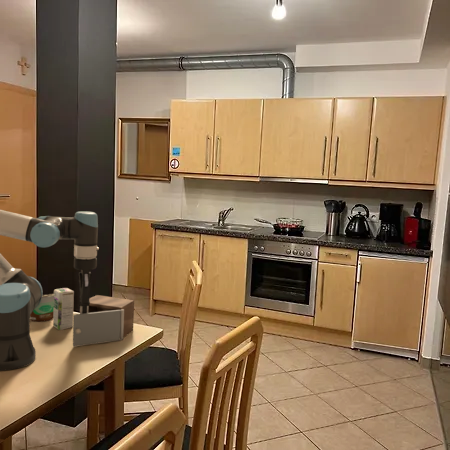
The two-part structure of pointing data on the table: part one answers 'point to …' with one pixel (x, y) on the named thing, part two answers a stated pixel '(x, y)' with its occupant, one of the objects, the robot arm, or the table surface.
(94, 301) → the cabinet
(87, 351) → the table surface
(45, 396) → the table surface
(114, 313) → the door
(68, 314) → the syrup box
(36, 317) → the food container
